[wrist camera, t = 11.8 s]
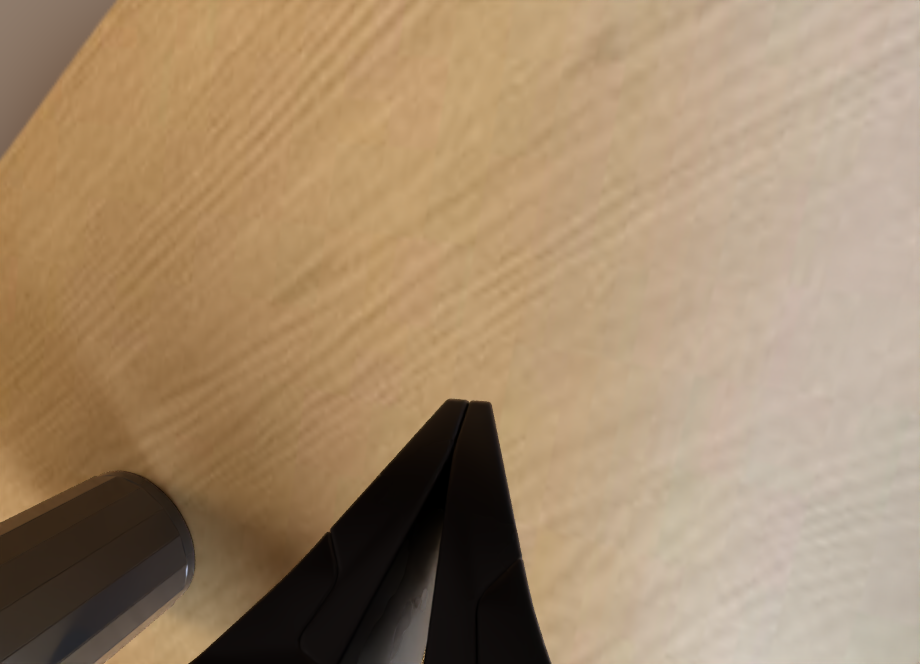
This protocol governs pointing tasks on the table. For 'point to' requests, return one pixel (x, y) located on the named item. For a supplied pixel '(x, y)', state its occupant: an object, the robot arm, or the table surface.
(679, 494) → the table surface
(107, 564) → the pen cup
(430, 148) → the table surface
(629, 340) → the table surface
